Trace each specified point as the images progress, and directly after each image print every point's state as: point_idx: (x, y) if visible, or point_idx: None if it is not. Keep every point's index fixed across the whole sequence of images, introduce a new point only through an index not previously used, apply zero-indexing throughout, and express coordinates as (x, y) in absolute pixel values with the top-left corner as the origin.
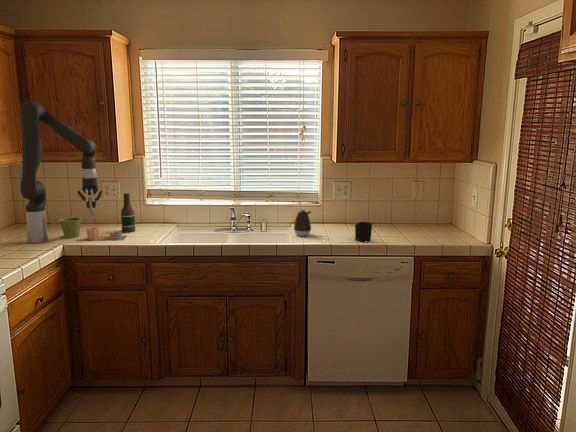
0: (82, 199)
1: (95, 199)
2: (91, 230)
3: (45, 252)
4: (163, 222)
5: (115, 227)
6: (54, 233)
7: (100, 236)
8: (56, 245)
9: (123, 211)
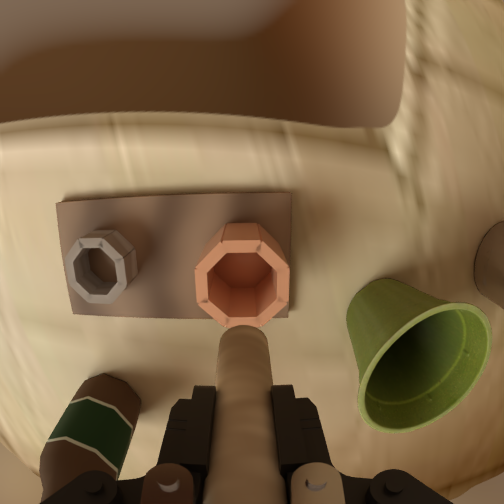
0: (412, 482)
1: (136, 502)
2: (242, 238)
3: (418, 25)
4: None
5: None
6: None
7: None
8: (422, 157)
9: (77, 472)
